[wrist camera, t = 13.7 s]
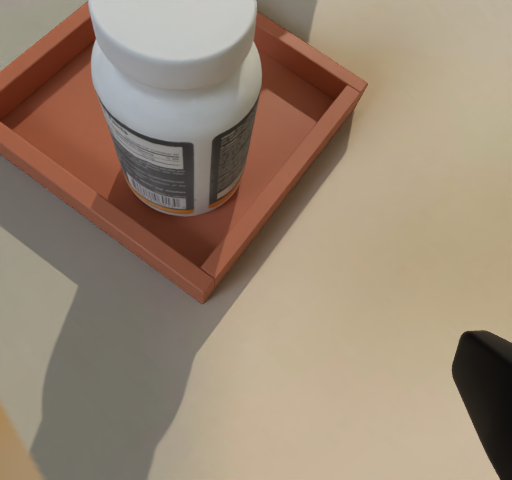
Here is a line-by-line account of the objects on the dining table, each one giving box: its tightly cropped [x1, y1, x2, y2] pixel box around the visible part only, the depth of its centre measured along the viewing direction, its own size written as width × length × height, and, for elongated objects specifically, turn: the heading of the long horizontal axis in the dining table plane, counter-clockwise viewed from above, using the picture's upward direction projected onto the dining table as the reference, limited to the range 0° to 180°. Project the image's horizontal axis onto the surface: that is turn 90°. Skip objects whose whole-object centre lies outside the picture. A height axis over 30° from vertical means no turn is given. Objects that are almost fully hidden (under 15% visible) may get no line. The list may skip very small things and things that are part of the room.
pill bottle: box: [88, 0, 262, 217], centre depth 17 cm, size 6×6×10 cm
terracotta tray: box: [0, 1, 368, 304], centre depth 22 cm, size 14×14×2 cm
